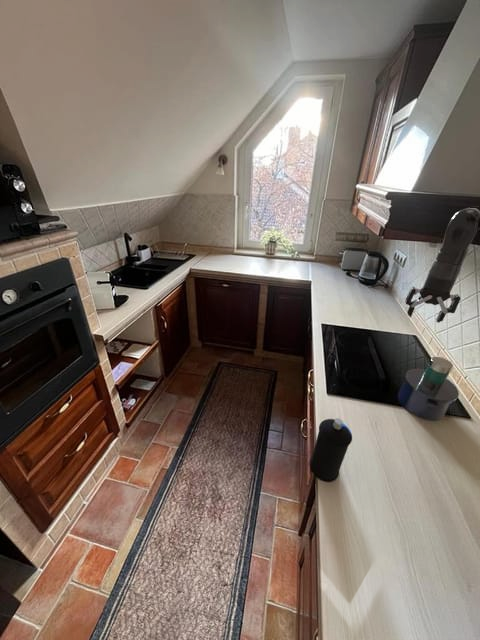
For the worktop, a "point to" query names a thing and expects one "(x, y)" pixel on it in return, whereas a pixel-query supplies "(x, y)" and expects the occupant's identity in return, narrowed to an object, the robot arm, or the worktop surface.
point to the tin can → (436, 372)
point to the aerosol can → (330, 449)
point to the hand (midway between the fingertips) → (423, 318)
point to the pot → (426, 396)
